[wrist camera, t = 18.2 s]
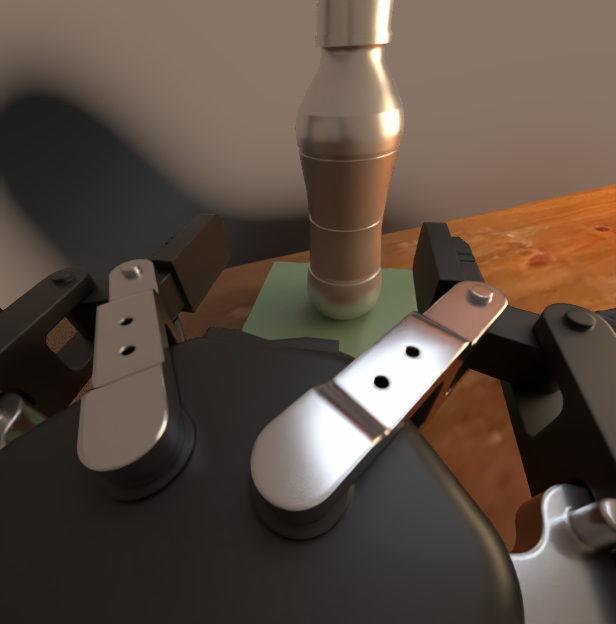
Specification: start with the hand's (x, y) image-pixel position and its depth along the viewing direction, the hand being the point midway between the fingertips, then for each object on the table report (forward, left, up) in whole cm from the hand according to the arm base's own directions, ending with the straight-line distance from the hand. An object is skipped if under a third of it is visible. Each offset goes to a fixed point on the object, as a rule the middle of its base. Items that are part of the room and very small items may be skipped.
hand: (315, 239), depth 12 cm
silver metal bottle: (+1, +10, -13) cm, 16 cm away
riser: (0, +10, -17) cm, 20 cm away
